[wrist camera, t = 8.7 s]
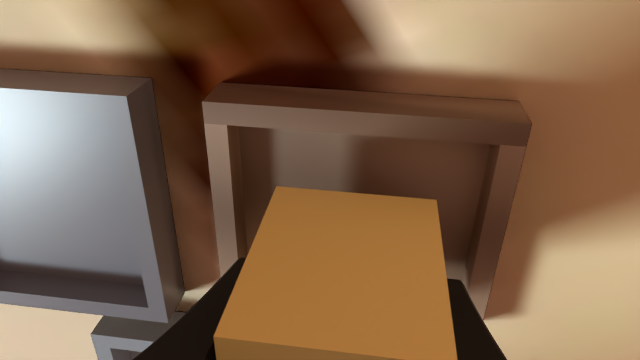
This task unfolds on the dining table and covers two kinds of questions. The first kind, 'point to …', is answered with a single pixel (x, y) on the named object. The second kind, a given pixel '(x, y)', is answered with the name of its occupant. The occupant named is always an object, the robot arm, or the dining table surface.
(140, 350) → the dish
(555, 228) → the dining table surface
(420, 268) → the letter cube
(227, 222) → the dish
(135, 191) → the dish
